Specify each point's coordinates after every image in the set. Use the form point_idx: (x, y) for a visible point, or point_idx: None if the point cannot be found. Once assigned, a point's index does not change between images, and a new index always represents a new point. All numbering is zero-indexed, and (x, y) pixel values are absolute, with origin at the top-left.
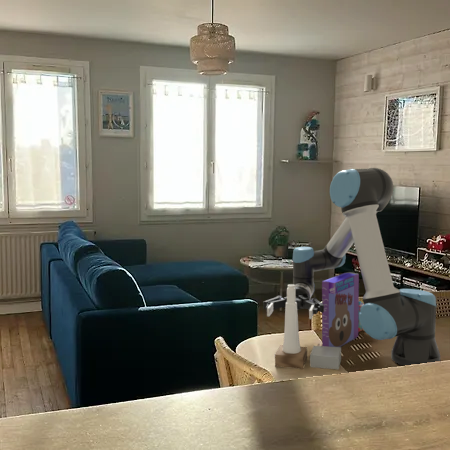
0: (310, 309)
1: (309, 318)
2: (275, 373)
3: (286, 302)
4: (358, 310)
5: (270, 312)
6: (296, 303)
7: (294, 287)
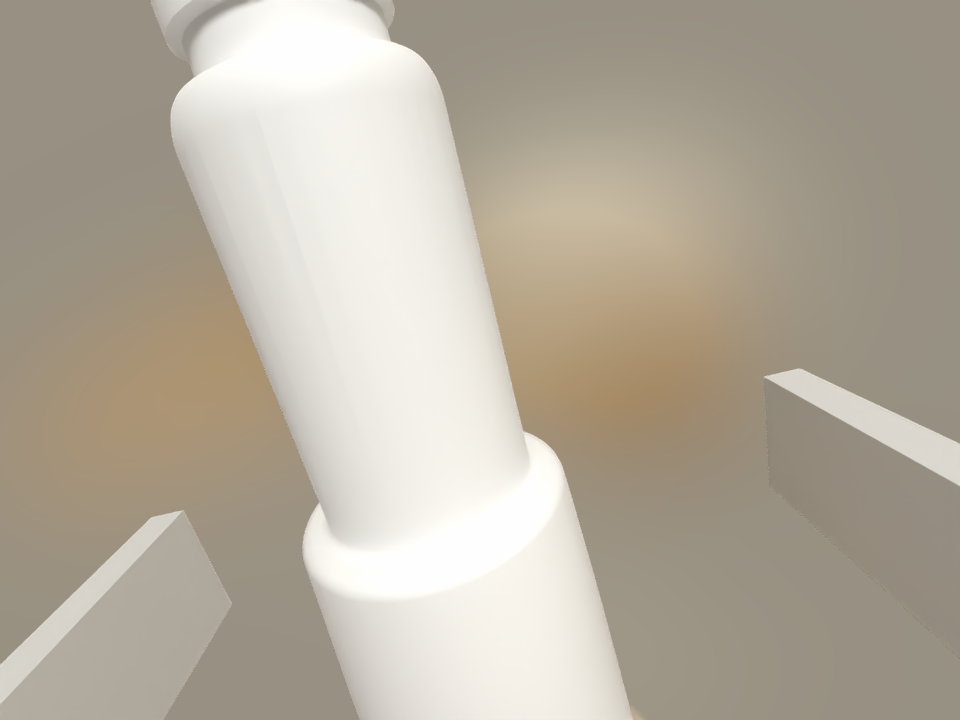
0: (134, 552)
1: (226, 600)
2: (631, 711)
3: (540, 456)
4: None
5: (823, 500)
6: (317, 505)
7: (182, 98)
